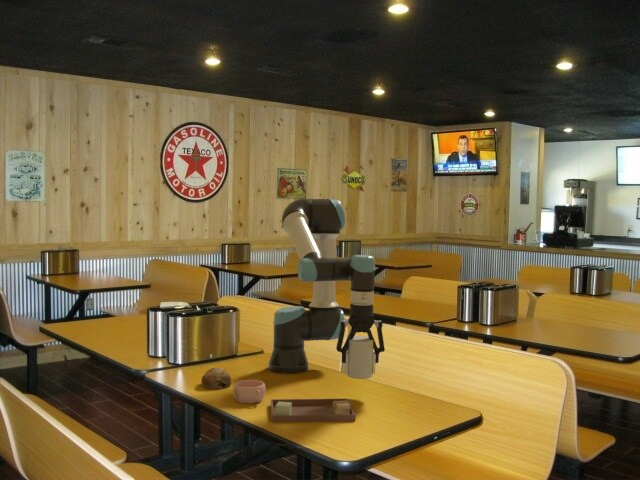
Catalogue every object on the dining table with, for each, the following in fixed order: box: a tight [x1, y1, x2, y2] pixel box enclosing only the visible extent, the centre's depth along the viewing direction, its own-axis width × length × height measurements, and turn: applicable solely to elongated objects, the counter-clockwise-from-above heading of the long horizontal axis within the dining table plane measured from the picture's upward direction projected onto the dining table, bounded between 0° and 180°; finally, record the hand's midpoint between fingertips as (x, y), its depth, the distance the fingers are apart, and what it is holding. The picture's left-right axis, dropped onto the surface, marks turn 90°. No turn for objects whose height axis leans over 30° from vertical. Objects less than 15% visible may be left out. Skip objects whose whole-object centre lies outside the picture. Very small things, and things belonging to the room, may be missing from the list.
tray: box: [270, 398, 356, 423], centre depth 199 cm, size 16×24×2 cm, turn 96°
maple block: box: [333, 400, 351, 414], centre depth 196 cm, size 4×4×4 cm
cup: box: [346, 335, 374, 380], centre depth 215 cm, size 8×8×12 cm
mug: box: [233, 379, 267, 405], centre depth 210 cm, size 12×10×6 cm
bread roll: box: [201, 367, 232, 390], centre depth 229 cm, size 10×10×8 cm
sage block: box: [275, 402, 292, 415], centre depth 194 cm, size 4×4×4 cm
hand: (359, 372), depth 216 cm, fingers closed on cup, 8 cm apart
